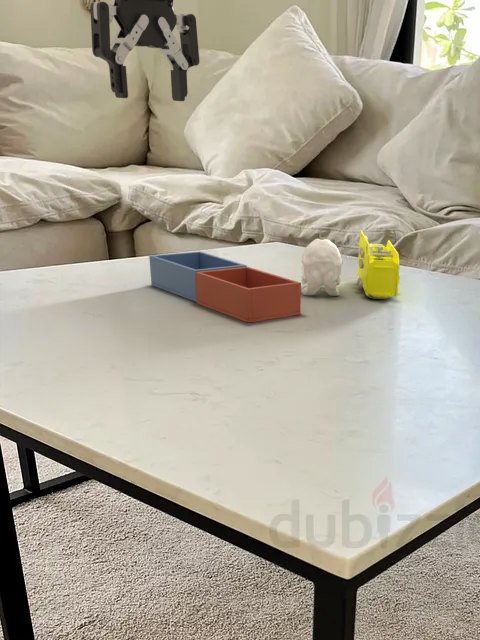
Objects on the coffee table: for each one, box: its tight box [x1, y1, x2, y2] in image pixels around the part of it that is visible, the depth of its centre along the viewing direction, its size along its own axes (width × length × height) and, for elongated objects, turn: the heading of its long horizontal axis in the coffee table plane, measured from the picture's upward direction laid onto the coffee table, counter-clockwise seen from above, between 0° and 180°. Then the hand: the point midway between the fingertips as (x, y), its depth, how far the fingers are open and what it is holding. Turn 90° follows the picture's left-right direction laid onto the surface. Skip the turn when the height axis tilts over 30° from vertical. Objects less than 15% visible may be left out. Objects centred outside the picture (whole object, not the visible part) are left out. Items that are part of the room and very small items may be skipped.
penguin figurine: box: [301, 238, 344, 297], centre depth 125 cm, size 6×8×12 cm
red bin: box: [195, 266, 302, 324], centre depth 112 cm, size 9×13×4 cm
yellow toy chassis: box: [357, 230, 401, 300], centre depth 128 cm, size 16×6×8 cm, turn 6°
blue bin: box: [148, 250, 248, 303], centre depth 121 cm, size 9×13×4 cm
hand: (150, 99), depth 105 cm, fingers open, 8 cm apart
